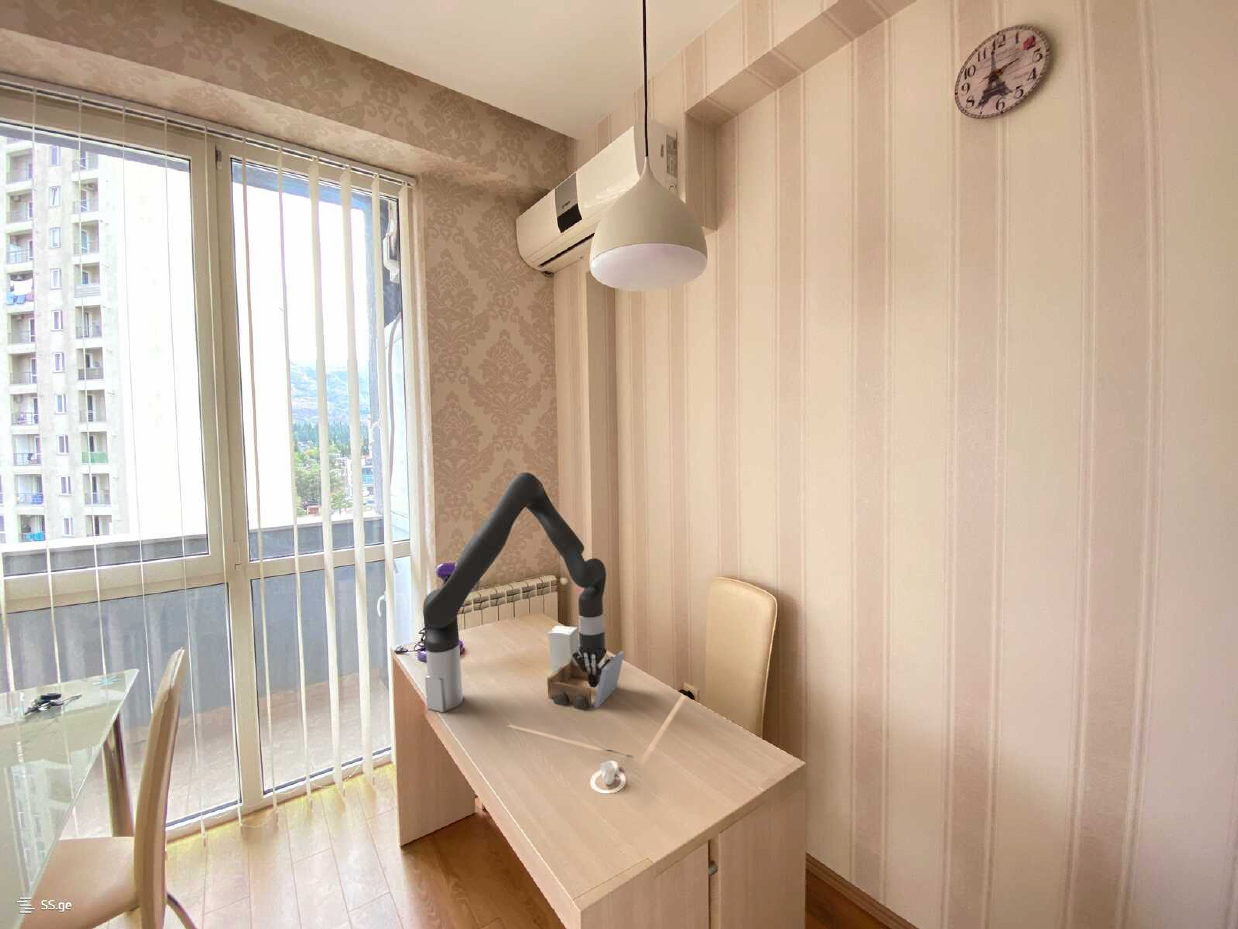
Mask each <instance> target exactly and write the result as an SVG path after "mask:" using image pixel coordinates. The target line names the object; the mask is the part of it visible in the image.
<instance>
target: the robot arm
mask: <svg viewBox="0 0 1238 929" xmlns="http://www.w3.org/2000/svg"><path fill="white" fill-rule="evenodd" d="M525 508H526V509H527V510H529V512H530V513H531V514H533V517H535V518H536V519H537V521H538V523H539V524H540V526H541V527H542V528H543V530H544V531H545V534H546V536H547V538H548V539H549V540H550V542H551V543H552V544H553V547H554V548H555V550H556V551H557V552H558V553H559V556H561V557H562V558H563V561H564V564H565V567H566V569H567V571H568V574H569V576H570V579H571V580H572V581H573V583H574V584H575V585H576V586H578V587H579V588H583V591H582V592H581V593H580V595H579V596H578V601H577V602H578V621H577V622H578V637H579V650H577V651H576V652H575V653H574V654H573V655H572V656H573V658H574V659H575V661H576V662H577V664H578V665H579V667H580V668H581V670H582V671H583V672H587V674H588V683H589V685H590V687H594V688H595V687H596V686H597V685H598V684H599V675H601V672H602V669H603V668H604V667H605V666H606V665H607V664H608V663H609V662H610V661H611V660H612V659H613V658H614V656H610V655H609V654H608V652H607V648H606V633H605V632H606V631H605V630H606V625H605V616H604V602H603V598H604V593H605V588H606V580H607V571H606V570H607V569H606V567H605V564H604V562H603V561H602V560H601V559H599V558H596V557H593V558H590V559H588V560H587V559H586V560H585V559H584V557H583V555H582V554H583V552H584V551H585V546H584V543H583V542H582V541H581V540H580V538H579V537H578V536H577V534H576V533H575V532H574V531H573V529H572V528H571V526H570V525H569V524H568V523H567V522H566V520H565V519H564V517H563V516H561V514H560V513H559V512H558V510H557V509H556V508H555V506H554V504H553V503H552V501H551V499H550V498H549V495H548V494H547V492H546V489H545V488H544V485H543V483H542V481H540V479H539V478H537V476H536V475H535V474H533V473H530V472H525V471H523V472H520V473H518V474H517V475H515V476H514V477H513V478H511V480H510V482H509V483H508V485H507V487H506V489H505V490H504V491H503V494H502V496H501V497H500V499H499V501H498V502H497V504H496V506H495V507H494V508H493V510H492V511H491V512H490V514H489V515H488V516H487V517H486V519H485V520H484V521H483V523H482V524H481V526H480V527H479V528H478V529H477V531H476V532H475V533H474V535H473V536H472V537H471V539H470V540H469V542H467V544H466V546H465V547H464V549H463V551H462V552H461V555H460V556H459V558H458V560H457V562H456V564H455V567H454V569H453V571H452V573H451V574H450V575H449V578H448V579H447V581H445V583H444V584H443V586H442V587H441V588H438V589H434V590H432V591H431V592H430V593H428V594H427V595H426V597H425V598H424V601H423V605H422V614H423V622H424V624H423V625H424V639H425V641H424V643H425V654H426V656H425V658H426V669H427V671H426V672H427V675H426V676H425V677H424V682H425V683H424V684H425V696H426V708H427V709H429V710H433V711H435V712H440V713H444V712H446V711H448V710H452V709H454V708H456V707H458V706H460V705H461V704H462V702H463V701H464V700H463V699H464V698H463V697H464V694H463V683H462V682H463V681H462V680H463V679H462V667H461V665H462V664H461V651H460V633H459V632H460V631H459V625H458V624H459V623H458V615H459V612H460V610H461V608H462V606H463V605H464V602H466V600H467V598H468V597H469V594H470V593H471V592H472V590H473V589H474V587H475V586H476V585H477V584H478V583H479V581H480V580H481V579H482V578H483V576H484V575H485V574H486V572H487V571H488V569H489V568H490V567H491V566H492V564H493V563H494V562H495V560H496V559H497V557H499V555H500V553H501V552H502V550H503V549H504V547H505V546H506V544H507V541H508V538H509V535H510V533H511V531H512V528H513V525H514V523H515V521H516V520H517V518H518V517H519V516H520V514H521V513H522V511H523V510H524V509H525ZM602 660H603V664H602V665H601V663H602Z"/></svg>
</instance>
